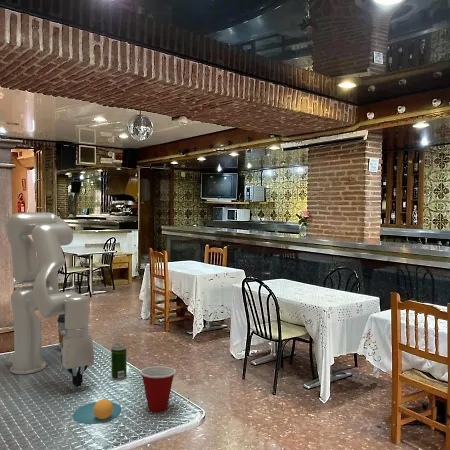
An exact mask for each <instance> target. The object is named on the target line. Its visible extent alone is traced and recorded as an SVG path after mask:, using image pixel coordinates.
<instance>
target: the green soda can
mask: <svg viewBox="0 0 450 450" xmlns="http://www.w3.org/2000/svg"><path fill="white" fill-rule="evenodd" d="M110 349H111V353H110V355H111V357H110V359H111V361H110V362H111V379H112V380H113V379H114V380H113V381H121V380H125V379H126V378H127V375H128V373H127V372H128V371H127V369H128V365H127V364H128V363H127V361H128V360H127V358H128V357H127V345H126V343H124V342H118V343H117V342H116V343H113V344H112V345H111V348H110Z"/></svg>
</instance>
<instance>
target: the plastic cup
mask: <svg viewBox="0 0 450 450" xmlns="http://www.w3.org/2000/svg"><path fill="white" fill-rule="evenodd" d="M176 371H177V370H176V369H175V368H173V367H171V366H162V365H156V366H148V367H145V368H142V369H141V370H140V375H141V378H142V381H143V384H144V385H143V387H144V392H145V398H146V399H145V400H146V402H147V408H148V411H149V412H151V413H157V414H158V413H164V412H166V411H167V409H168V407H169V401H170V398H171V397H170V396H171V390H172V384H173V381H174V377H175V374H176V373H177V372H176Z"/></svg>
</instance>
